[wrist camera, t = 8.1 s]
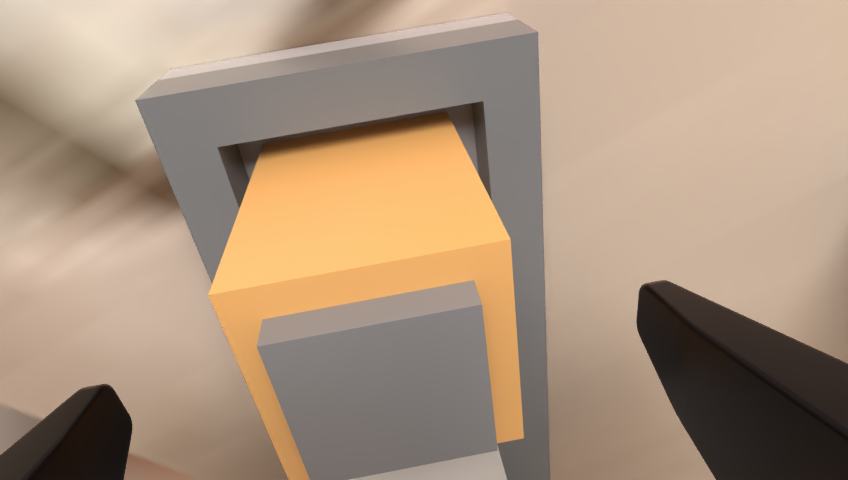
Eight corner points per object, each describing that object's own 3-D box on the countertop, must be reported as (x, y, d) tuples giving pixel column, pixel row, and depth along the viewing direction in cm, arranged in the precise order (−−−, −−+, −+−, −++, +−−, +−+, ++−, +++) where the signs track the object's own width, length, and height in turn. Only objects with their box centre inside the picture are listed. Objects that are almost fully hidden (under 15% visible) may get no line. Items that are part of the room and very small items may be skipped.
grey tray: (530, 447, 21) (594, 634, 16) (327, 487, 21) (319, 691, 16) (506, 12, 13) (623, 86, 8) (170, 69, 13) (35, 189, 7)
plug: (465, 263, 15) (533, 465, 10) (309, 292, 15) (287, 514, 10) (446, 111, 13) (522, 261, 7) (263, 144, 13) (198, 321, 7)
